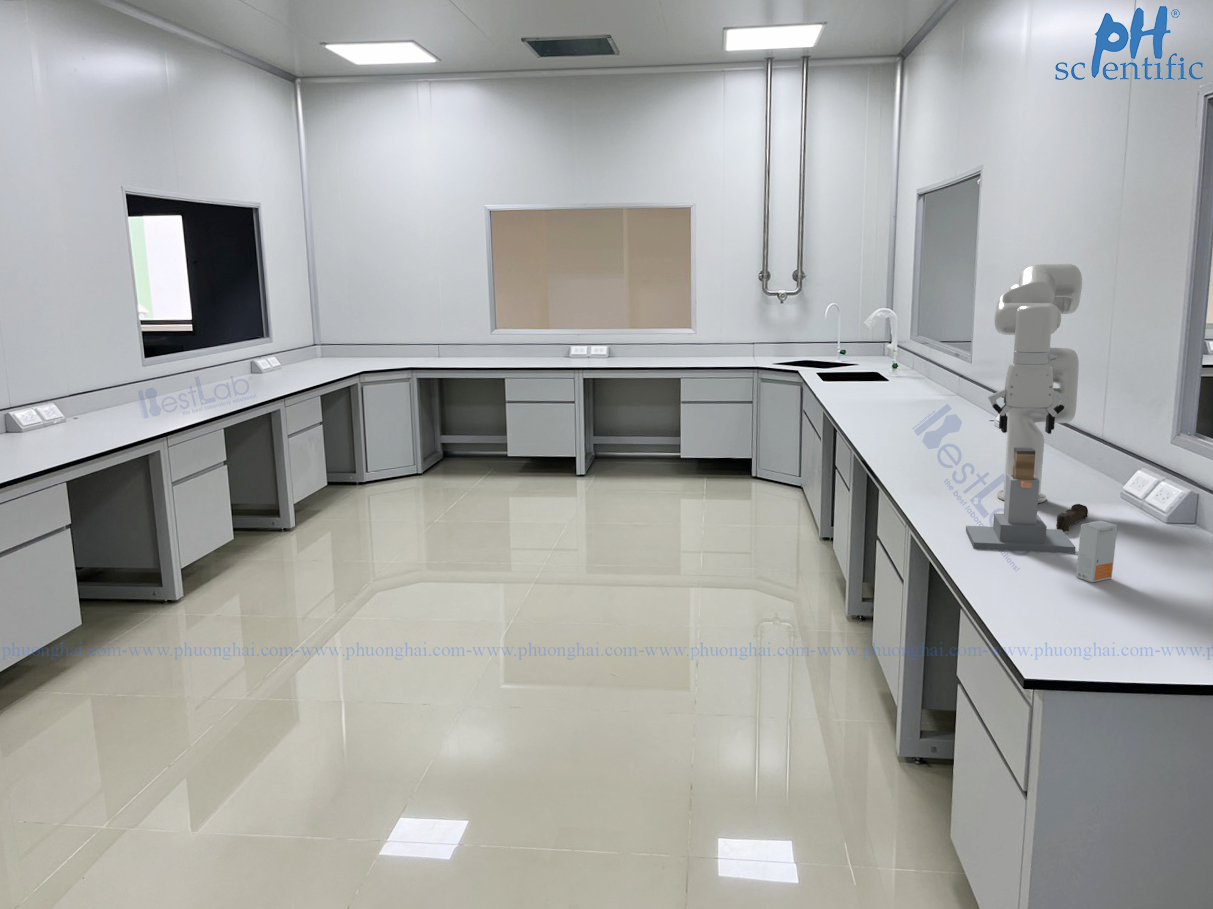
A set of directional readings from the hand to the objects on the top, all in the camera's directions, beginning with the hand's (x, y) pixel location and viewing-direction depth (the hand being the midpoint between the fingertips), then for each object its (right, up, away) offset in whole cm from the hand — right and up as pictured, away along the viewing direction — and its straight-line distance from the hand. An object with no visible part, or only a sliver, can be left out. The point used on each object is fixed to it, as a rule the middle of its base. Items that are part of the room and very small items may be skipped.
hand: (1025, 432), depth 216 cm
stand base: (+1, -26, +6) cm, 27 cm away
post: (+1, -20, +5) cm, 21 cm away
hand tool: (+19, -24, +18) cm, 35 cm away
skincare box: (+6, -32, -19) cm, 38 cm away
